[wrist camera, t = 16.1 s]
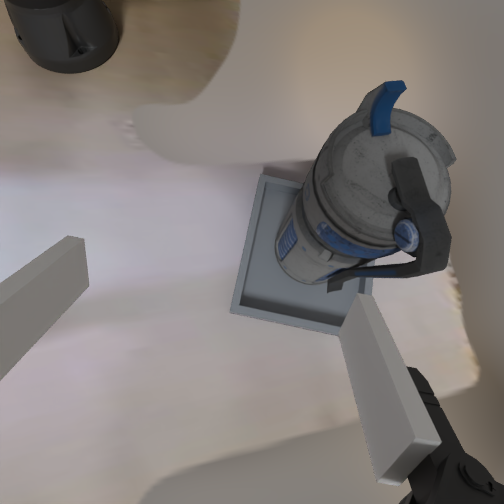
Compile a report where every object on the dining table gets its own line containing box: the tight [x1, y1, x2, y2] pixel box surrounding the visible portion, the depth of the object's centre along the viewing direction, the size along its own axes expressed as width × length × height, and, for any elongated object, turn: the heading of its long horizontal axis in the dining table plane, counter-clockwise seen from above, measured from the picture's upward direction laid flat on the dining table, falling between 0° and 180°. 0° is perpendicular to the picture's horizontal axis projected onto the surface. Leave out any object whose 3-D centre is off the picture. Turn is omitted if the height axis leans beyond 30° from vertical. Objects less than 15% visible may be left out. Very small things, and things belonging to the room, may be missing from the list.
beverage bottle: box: [274, 80, 456, 293], centre depth 29 cm, size 10×13×25 cm
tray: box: [230, 174, 375, 336], centre depth 41 cm, size 20×18×3 cm
